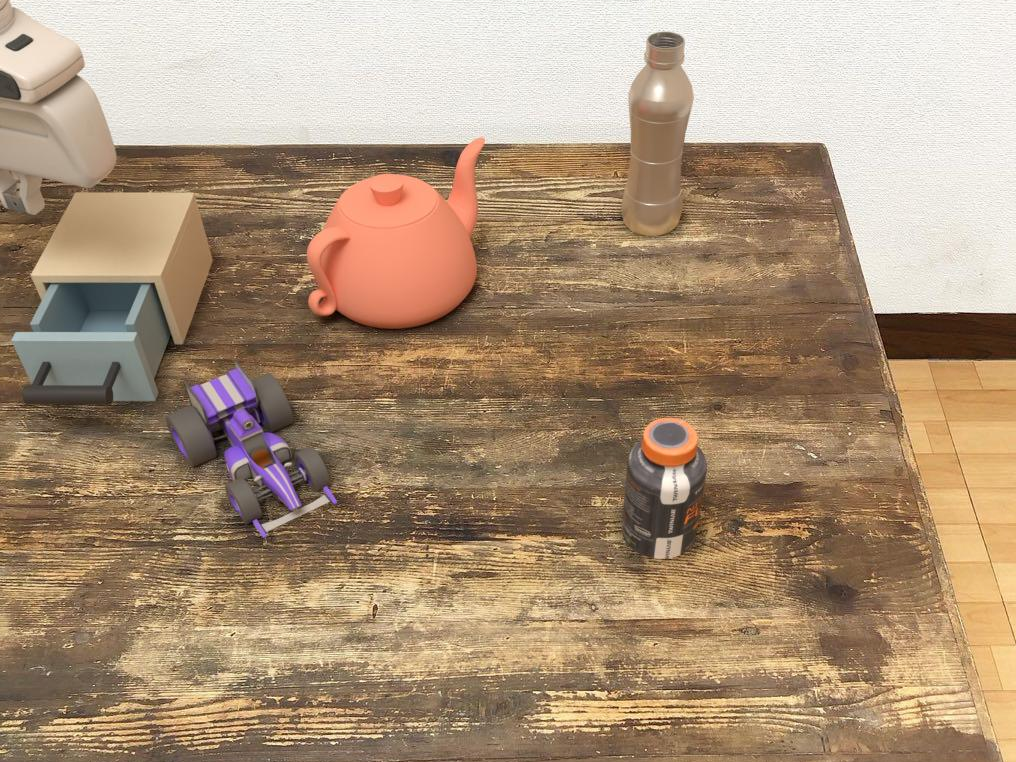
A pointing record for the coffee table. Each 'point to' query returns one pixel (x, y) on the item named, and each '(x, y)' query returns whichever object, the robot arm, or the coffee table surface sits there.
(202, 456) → the toy race car
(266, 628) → the coffee table surface
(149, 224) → the drawer cabinet
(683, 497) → the pill bottle
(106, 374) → the blue drawer
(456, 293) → the teapot
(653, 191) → the plastic bottle
